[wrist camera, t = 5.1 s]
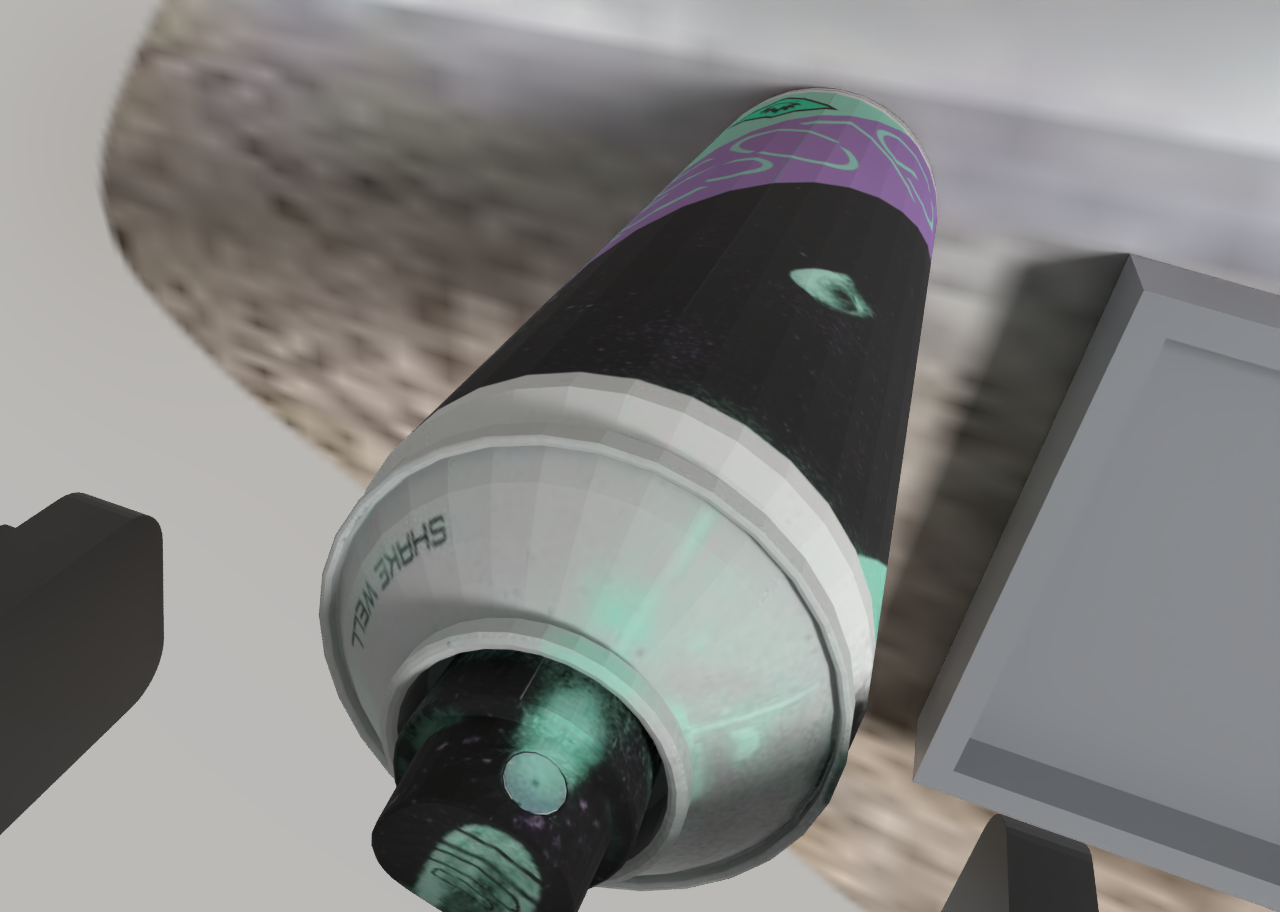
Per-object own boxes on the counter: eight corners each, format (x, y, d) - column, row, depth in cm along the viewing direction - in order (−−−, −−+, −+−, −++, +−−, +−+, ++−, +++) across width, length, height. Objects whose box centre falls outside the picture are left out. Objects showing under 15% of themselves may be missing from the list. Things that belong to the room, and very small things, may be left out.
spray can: (947, 85, 24) (845, 632, 6) (929, 328, 26) (822, 1190, 9) (696, 86, 25) (67, 540, 8) (701, 317, 27) (232, 1043, 10)
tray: (1129, 253, 24) (1143, 290, 22) (1723, 421, 23) (1800, 478, 20) (917, 719, 31) (912, 781, 29) (1357, 873, 30) (1387, 950, 27)
